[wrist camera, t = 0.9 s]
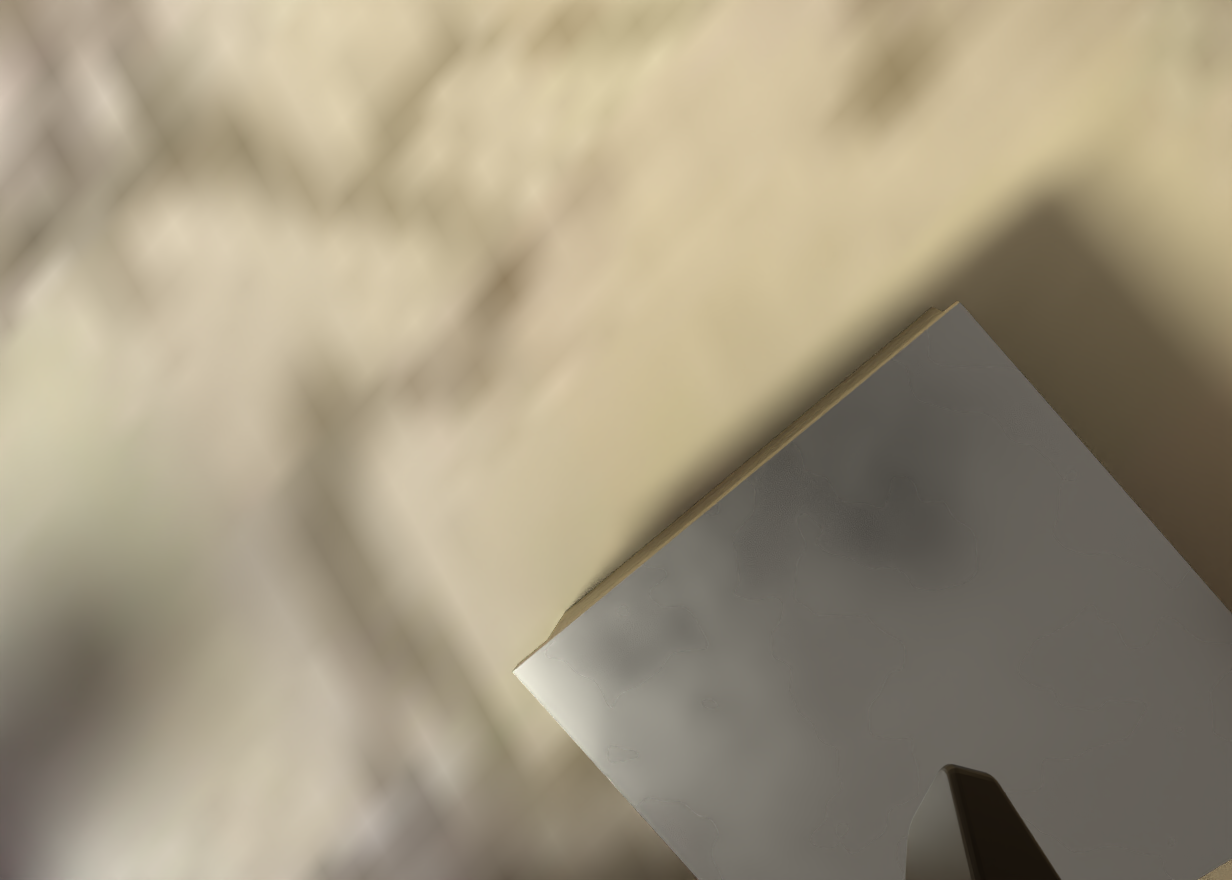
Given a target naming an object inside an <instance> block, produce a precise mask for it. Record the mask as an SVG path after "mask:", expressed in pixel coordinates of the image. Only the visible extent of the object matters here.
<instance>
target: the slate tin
mask: <svg viewBox="0 0 1232 880" xmlns="http://www.w3.org/2000/svg"><path fill="white" fill-rule="evenodd" d="M513 673H514V674H515V675H516V676H517V678H518V679H519V680H520V681H521V682H522V683H523V684H524V685H525V687H526V688H527V689H528V690H529V691H530V692H531V693H532V694H533V695H534V697H535V698H536V699H537V700H538V701H539V702H540V703H541V704H542V706H543V707H544V708H545V709H546V710H547V711H548V712H549V713H550V714H551V716H552V717H553V718H554V719H555V720H556V721H557V722H558V723H559V725H560V726H561V727H562V728H563V729H564V730H565V731H566V732H567V733H568V735H569V736H570V737H571V738H572V739H573V740H574V741H575V742H576V744H577V745H578V746H579V747H580V748H581V749H582V750H583V751H584V752H585V754H586V755H587V756H588V757H589V758H590V759H591V760H592V761H593V762H594V764H595V765H596V766H597V767H598V768H599V769H600V770H601V771H602V773H603V774H604V775H605V776H606V777H607V778H608V779H609V780H610V781H611V783H612V784H613V785H614V786H615V787H616V788H617V789H618V790H619V792H620V793H621V794H622V795H623V796H624V797H625V798H626V799H627V800H628V802H629V803H630V804H631V805H632V806H633V807H634V808H635V809H636V811H637V812H638V813H639V814H640V815H641V816H642V817H643V818H644V819H645V821H646V822H647V823H648V824H649V825H650V826H651V827H652V828H653V830H654V831H655V832H656V833H657V834H658V835H659V836H660V837H661V838H662V840H663V841H664V842H665V843H666V844H667V845H668V846H669V847H670V849H671V850H672V851H673V852H674V853H675V854H676V855H677V856H678V857H679V859H680V860H681V861H682V862H683V863H684V864H685V865H686V866H687V867H688V869H689V870H690V871H691V872H692V873H693V874H694V875H695V876H696V878H697V879H698V880H905V871H906V850H907V838H908V832H909V828H910V824H911V821H912V819H913V816H914V814H915V813H916V811H917V809H918V807H919V805H920V804H921V802H922V800H923V798H924V796H925V794H926V793H927V791H928V789H929V787H930V785H931V784H932V782H933V780H934V778H935V776H936V775H937V773H938V771H939V770H940V769H941V768H942V767H943V766H944V765H947V764H955V765H959V766H963V767H967V768H971V769H975V770H979V771H983V772H986V773H988V774H990V775H992V776H993V777H994V778H995V779H996V780H997V781H998V783H999V784H1000V785H1001V787H1002V789H1003V790H1004V792H1005V793H1006V795H1007V796H1008V798H1009V799H1010V801H1011V802H1012V804H1013V806H1014V807H1015V809H1016V810H1017V812H1018V813H1019V815H1020V816H1021V818H1022V819H1023V821H1024V823H1025V824H1026V826H1027V827H1028V829H1029V830H1030V832H1031V833H1032V835H1033V837H1034V838H1035V840H1036V841H1037V843H1038V844H1039V846H1040V847H1041V849H1042V850H1043V852H1044V854H1045V855H1046V857H1047V858H1048V860H1049V861H1050V863H1051V864H1052V866H1053V867H1054V869H1055V871H1056V872H1057V874H1058V875H1059V877H1060V878H1061V880H1198V879H1199V878H1201V877H1203V876H1204V875H1206V874H1208V873H1209V872H1211V871H1213V870H1214V869H1216V868H1217V867H1219V866H1221V865H1222V864H1224V863H1226V862H1227V861H1229V860H1231V859H1232V613H1231V612H1230V611H1229V610H1228V609H1227V608H1226V607H1225V605H1224V604H1223V603H1222V602H1221V601H1220V600H1219V599H1218V597H1217V596H1216V595H1215V594H1214V593H1213V592H1212V590H1211V589H1210V588H1209V587H1208V586H1207V585H1206V584H1205V582H1204V581H1203V580H1202V579H1201V578H1200V577H1199V576H1198V574H1197V573H1196V572H1195V571H1194V570H1193V569H1192V568H1191V566H1190V565H1189V564H1188V563H1187V562H1186V561H1185V560H1184V558H1183V557H1182V556H1181V555H1180V554H1179V553H1178V552H1177V550H1176V549H1175V548H1174V547H1173V546H1172V545H1171V544H1170V542H1169V541H1168V540H1167V539H1166V538H1165V537H1164V535H1163V534H1162V533H1161V532H1160V531H1159V530H1158V529H1157V527H1156V526H1155V525H1154V524H1153V523H1152V522H1151V521H1150V519H1149V518H1148V517H1147V516H1146V515H1145V514H1144V513H1143V511H1142V510H1141V509H1140V508H1139V507H1138V506H1137V505H1136V503H1135V502H1134V501H1133V500H1132V499H1131V498H1130V497H1129V495H1128V494H1127V493H1126V492H1125V491H1124V490H1123V488H1122V487H1121V486H1120V485H1119V484H1118V483H1117V482H1116V480H1115V479H1114V478H1113V477H1112V476H1111V475H1110V474H1109V472H1108V471H1107V470H1106V469H1105V468H1104V467H1103V466H1102V464H1101V463H1100V462H1099V461H1098V460H1097V459H1096V458H1095V456H1094V455H1093V454H1092V453H1091V452H1090V451H1089V450H1088V448H1087V447H1086V446H1085V445H1084V444H1083V443H1082V442H1081V440H1080V439H1079V438H1078V437H1077V436H1076V435H1075V433H1074V432H1073V431H1072V430H1071V429H1070V428H1069V427H1068V425H1067V424H1066V423H1065V422H1064V421H1063V420H1062V419H1061V417H1060V416H1059V415H1058V414H1057V413H1056V412H1055V411H1054V409H1053V408H1052V407H1051V406H1050V405H1049V404H1048V403H1047V401H1046V400H1045V399H1044V398H1043V397H1042V396H1041V395H1040V393H1039V392H1038V391H1037V390H1036V389H1035V388H1034V387H1033V385H1032V384H1031V383H1030V382H1029V381H1028V380H1027V378H1026V377H1025V376H1024V375H1023V374H1022V373H1021V372H1020V370H1019V369H1018V368H1017V367H1016V366H1015V365H1014V364H1013V362H1012V361H1011V360H1010V359H1009V358H1008V357H1007V356H1006V354H1005V353H1004V352H1003V351H1002V350H1001V349H1000V348H999V346H998V345H997V344H996V343H995V342H994V341H993V340H992V338H991V337H990V336H989V335H988V334H987V333H986V332H985V330H984V329H983V328H982V327H981V326H980V325H979V323H978V322H977V321H976V320H975V319H974V318H973V317H972V315H971V314H970V313H969V312H968V311H967V310H966V309H965V307H964V306H963V305H962V304H961V303H960V302H958V301H956V302H955V303H953V304H952V305H951V306H950V307H949V308H947V309H946V310H945V311H944V312H943V311H941V310H938V309H936V308H934V307H931V308H930V309H929V310H928V311H927V312H925V313H924V314H923V315H922V316H921V317H919V318H918V319H917V320H916V321H914V322H913V323H912V324H911V325H910V326H908V327H907V328H906V329H905V330H904V331H902V332H901V333H900V334H899V335H898V336H896V337H895V338H894V339H893V340H892V341H890V342H889V343H888V344H887V345H886V346H884V347H883V348H882V349H881V350H880V351H878V352H877V353H876V354H875V355H874V356H872V357H871V358H870V359H869V360H868V361H866V362H865V363H864V364H863V365H862V366H860V367H859V368H858V369H857V370H856V371H854V372H853V373H852V374H851V375H850V376H848V377H847V378H846V379H845V380H844V381H842V382H841V383H840V384H839V385H838V386H836V387H835V388H834V389H833V390H832V391H830V392H829V393H828V394H827V395H826V396H824V397H823V398H822V399H821V400H820V401H818V402H817V403H816V404H815V405H814V406H812V407H811V408H810V409H809V410H808V411H806V412H805V413H804V414H803V415H802V416H800V417H799V418H798V419H797V420H796V421H794V422H793V423H792V424H791V425H790V426H788V427H787V428H786V429H785V430H784V431H782V432H781V433H780V434H779V435H778V436H776V437H775V438H774V439H773V440H772V441H770V442H769V443H768V444H767V445H765V446H764V447H763V448H762V449H761V450H759V451H758V452H757V453H756V454H755V455H753V456H752V457H751V458H750V459H749V460H747V461H746V462H745V463H744V464H743V465H741V466H740V467H739V468H738V469H737V470H735V471H734V472H733V473H732V474H731V475H729V476H728V477H727V478H726V479H725V480H723V481H722V482H721V483H720V484H719V485H717V486H716V487H715V488H714V489H713V490H711V491H710V492H709V493H708V494H707V495H705V496H704V497H703V498H702V499H701V500H699V501H698V502H697V503H696V504H695V505H693V506H692V507H691V508H690V509H689V510H687V511H686V512H685V513H684V514H683V515H681V516H680V517H679V518H678V519H677V520H675V521H674V522H673V523H672V524H671V525H669V526H668V527H667V528H666V529H665V530H663V531H662V532H661V533H660V534H659V535H657V536H656V537H655V538H654V539H653V540H651V541H650V542H649V543H648V544H647V545H645V546H644V547H643V548H642V549H641V550H639V551H638V552H637V553H636V554H635V555H633V556H632V557H631V558H630V559H629V560H627V561H626V562H625V563H624V564H622V565H621V566H620V567H619V568H618V569H616V570H615V571H614V572H613V573H612V574H610V575H609V576H608V577H607V578H606V579H604V580H603V581H602V582H601V583H600V584H598V585H597V586H596V587H595V588H594V589H592V590H591V591H590V592H589V593H588V594H586V595H585V596H584V597H583V598H582V599H580V600H579V601H578V602H577V603H576V604H574V605H573V606H572V607H571V608H570V609H568V610H567V611H566V612H565V613H564V614H563V616H562V617H561V619H560V621H559V622H558V624H557V625H556V627H555V628H554V630H553V631H552V633H551V635H550V636H549V638H548V639H547V640H546V641H545V642H544V643H543V644H541V645H540V646H539V647H538V648H537V649H535V650H534V651H533V652H532V653H530V654H529V655H528V656H527V657H526V658H524V659H523V660H522V661H521V662H520V663H518V664H517V666H516V667H515V669H514V670H513Z"/></svg>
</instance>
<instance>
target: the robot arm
mask: <svg viewBox="0 0 1232 880" xmlns="http://www.w3.org/2000/svg"><path fill="white" fill-rule="evenodd" d="M905 880H1061V878H1060V877H1059V875H1058V874H1057V872H1056V871H1055V869H1054V867H1053V866H1052V864H1051V863H1050V861H1049V860H1048V858H1047V857H1046V855H1045V854H1044V852H1043V850H1042V849H1041V847H1040V846H1039V844H1038V843H1037V841H1036V840H1035V838H1034V837H1033V835H1032V833H1031V832H1030V830H1029V829H1028V827H1027V826H1026V824H1025V823H1024V821H1023V819H1022V818H1021V816H1020V815H1019V813H1018V812H1017V810H1016V809H1015V807H1014V806H1013V804H1012V802H1011V801H1010V799H1009V798H1008V796H1007V795H1006V793H1005V792H1004V790H1003V789H1002V787H1001V785H1000V784H999V783H998V781H997V780H996V779H995V778H994V777H993V776H992V775H990V774H988V773H986V772H983V771H979V770H975V769H971V768H967V767H963V766H959V765H955V764H947V765H944V766H943V767H942V768H941V769H940V770H939V771H938V773H937V775H936V776H935V778H934V780H933V782H932V784H931V785H930V787H929V789H928V791H927V793H926V794H925V796H924V798H923V800H922V802H921V804H920V805H919V807H918V809H917V811H916V813H915V814H914V816H913V819H912V821H911V824H910V828H909V832H908V838H907V850H906V871H905Z"/></svg>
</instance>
